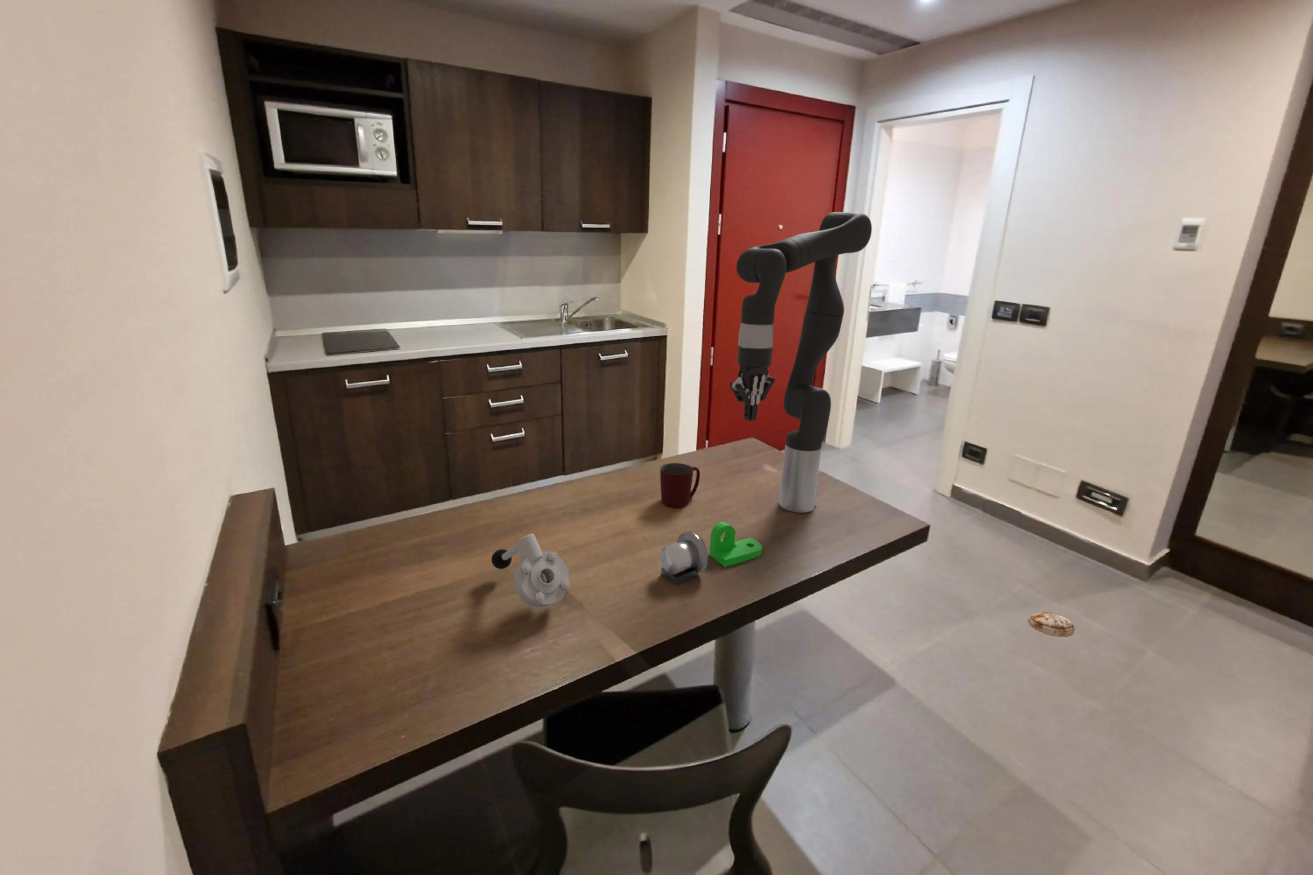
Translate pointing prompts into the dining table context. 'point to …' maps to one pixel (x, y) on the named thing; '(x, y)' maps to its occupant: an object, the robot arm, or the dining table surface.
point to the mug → (677, 484)
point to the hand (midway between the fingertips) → (750, 419)
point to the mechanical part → (731, 546)
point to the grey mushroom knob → (684, 558)
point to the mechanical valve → (535, 572)
